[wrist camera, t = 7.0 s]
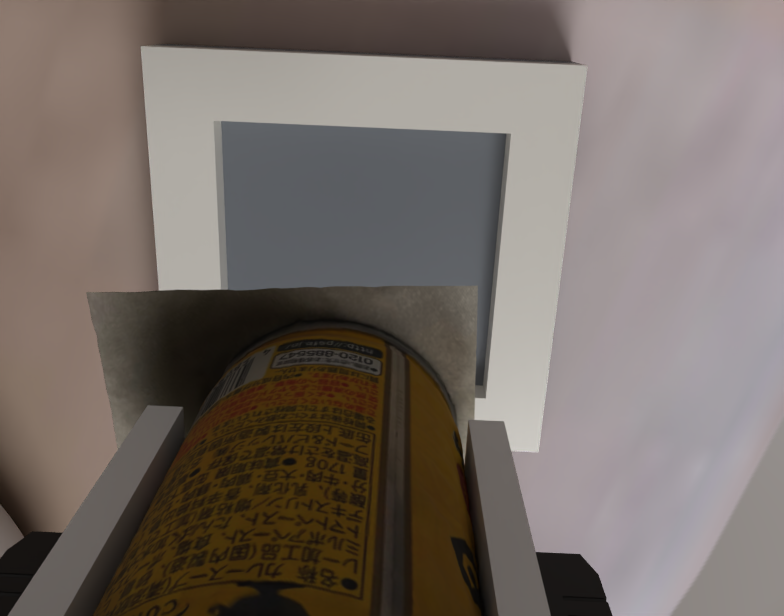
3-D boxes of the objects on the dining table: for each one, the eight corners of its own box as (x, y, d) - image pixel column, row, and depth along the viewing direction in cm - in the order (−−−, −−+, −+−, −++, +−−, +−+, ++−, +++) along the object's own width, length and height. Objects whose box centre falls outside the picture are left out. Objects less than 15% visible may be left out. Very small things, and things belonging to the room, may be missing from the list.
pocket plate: (528, 421, 35) (538, 452, 33) (186, 406, 35) (169, 436, 33) (571, 61, 29) (587, 65, 27) (163, 43, 29) (140, 46, 27)
